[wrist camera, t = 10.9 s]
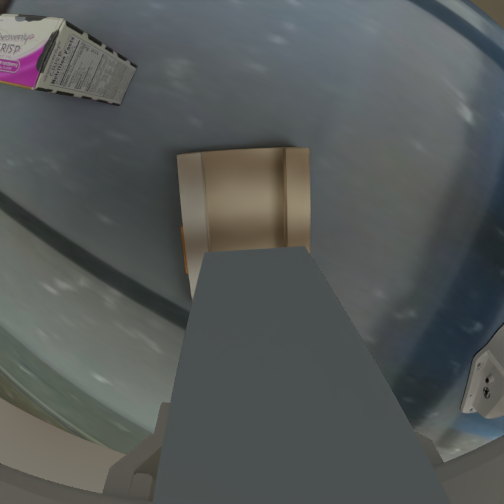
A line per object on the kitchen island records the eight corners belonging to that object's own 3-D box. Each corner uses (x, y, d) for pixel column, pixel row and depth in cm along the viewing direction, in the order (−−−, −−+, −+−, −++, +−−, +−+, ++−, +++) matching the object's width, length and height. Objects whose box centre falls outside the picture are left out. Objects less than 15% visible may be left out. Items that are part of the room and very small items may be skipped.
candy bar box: (42, 88, 27) (-59, 74, 11) (58, 47, 25) (-35, 12, 10) (121, 110, 29) (31, 92, 13) (140, 66, 27) (65, 13, 12)
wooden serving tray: (298, 301, 37) (307, 326, 31) (199, 307, 36) (193, 333, 31) (297, 146, 31) (309, 148, 26) (183, 153, 31) (173, 155, 25)
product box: (304, 246, 14) (470, 546, 2) (299, 394, 17) (349, 608, 5) (201, 252, 14) (129, 596, 2) (220, 400, 17) (219, 621, 5)
